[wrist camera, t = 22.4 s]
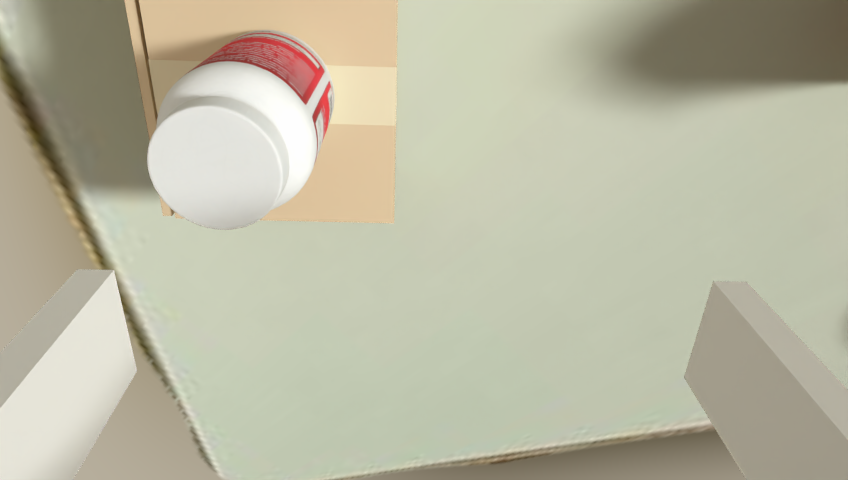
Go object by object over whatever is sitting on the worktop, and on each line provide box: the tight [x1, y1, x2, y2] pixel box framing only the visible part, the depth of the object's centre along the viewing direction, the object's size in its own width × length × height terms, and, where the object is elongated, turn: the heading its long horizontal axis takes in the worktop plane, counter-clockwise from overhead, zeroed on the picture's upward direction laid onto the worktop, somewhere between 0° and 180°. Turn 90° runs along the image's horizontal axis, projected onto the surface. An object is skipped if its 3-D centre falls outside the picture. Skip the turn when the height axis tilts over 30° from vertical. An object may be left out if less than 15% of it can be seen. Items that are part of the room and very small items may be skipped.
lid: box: [124, 0, 398, 223], centre depth 32 cm, size 14×13×2 cm
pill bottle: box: [147, 30, 335, 230], centre depth 26 cm, size 6×6×11 cm
